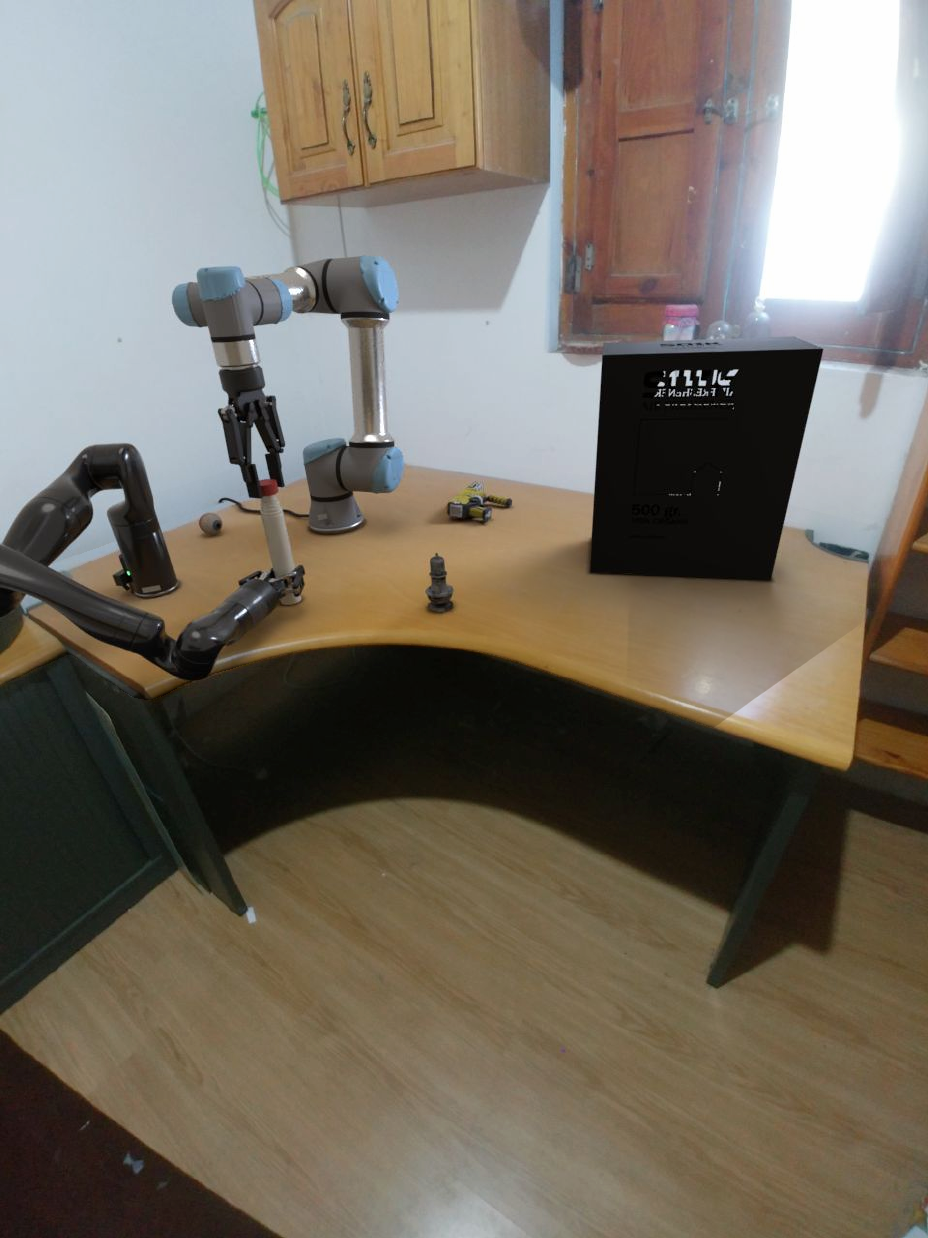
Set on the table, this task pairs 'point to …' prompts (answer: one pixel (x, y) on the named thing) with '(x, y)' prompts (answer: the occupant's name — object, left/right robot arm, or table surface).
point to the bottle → (278, 541)
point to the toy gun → (474, 503)
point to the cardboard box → (698, 455)
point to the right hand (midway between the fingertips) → (267, 491)
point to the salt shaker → (439, 586)
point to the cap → (268, 487)
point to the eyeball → (210, 523)
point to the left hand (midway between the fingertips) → (291, 568)
